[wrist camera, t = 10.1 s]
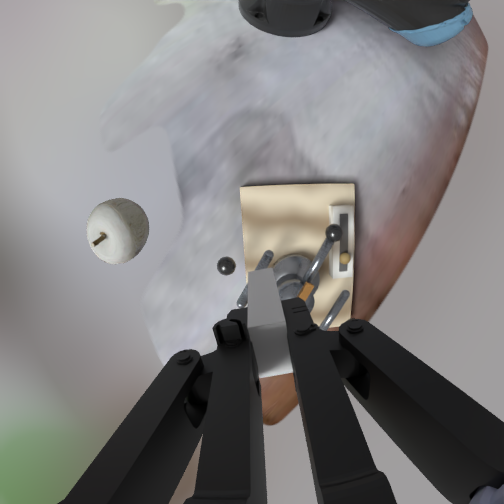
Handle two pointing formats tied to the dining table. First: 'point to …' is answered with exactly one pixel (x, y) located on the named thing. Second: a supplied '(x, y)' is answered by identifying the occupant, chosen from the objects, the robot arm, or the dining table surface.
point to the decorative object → (117, 230)
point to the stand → (303, 234)
